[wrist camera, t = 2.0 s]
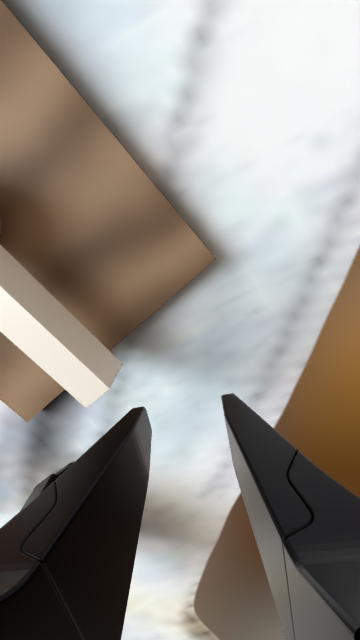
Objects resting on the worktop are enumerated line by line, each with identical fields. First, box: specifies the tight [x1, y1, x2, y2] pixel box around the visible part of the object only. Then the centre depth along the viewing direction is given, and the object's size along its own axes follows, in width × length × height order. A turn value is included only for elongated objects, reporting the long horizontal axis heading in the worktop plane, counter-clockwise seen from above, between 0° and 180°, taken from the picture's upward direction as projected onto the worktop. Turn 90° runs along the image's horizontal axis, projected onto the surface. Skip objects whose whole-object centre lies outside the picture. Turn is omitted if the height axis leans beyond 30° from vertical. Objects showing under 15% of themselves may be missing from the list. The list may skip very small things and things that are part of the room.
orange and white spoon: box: [0, 245, 123, 408], centre depth 15 cm, size 16×6×3 cm, turn 42°
